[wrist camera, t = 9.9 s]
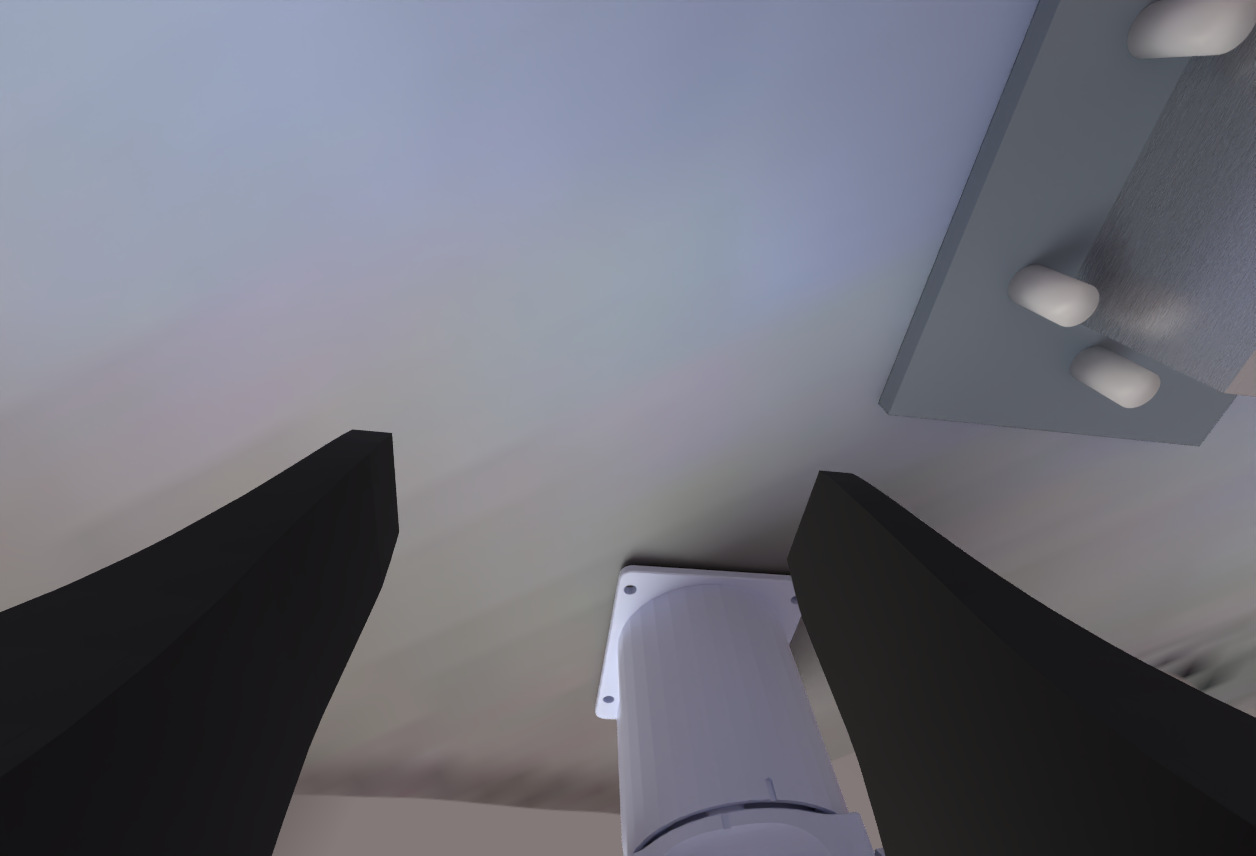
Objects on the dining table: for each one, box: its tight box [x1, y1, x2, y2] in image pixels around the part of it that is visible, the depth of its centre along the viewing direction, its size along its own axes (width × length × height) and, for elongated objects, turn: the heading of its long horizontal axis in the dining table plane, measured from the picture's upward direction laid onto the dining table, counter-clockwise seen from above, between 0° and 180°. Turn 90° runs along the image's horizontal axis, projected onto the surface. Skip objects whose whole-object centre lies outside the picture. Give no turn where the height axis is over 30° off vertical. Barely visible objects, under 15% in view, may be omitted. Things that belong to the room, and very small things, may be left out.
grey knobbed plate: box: [878, 0, 1256, 446], centre depth 16 cm, size 16×12×3 cm
